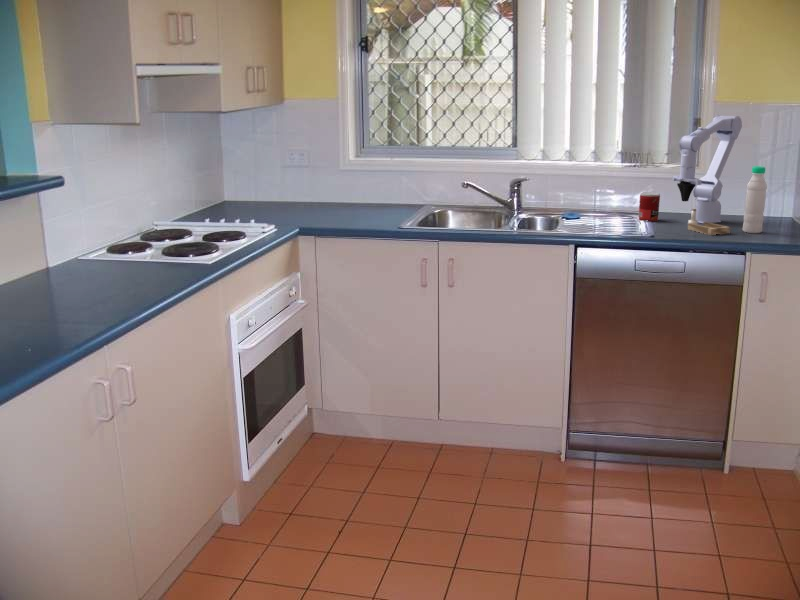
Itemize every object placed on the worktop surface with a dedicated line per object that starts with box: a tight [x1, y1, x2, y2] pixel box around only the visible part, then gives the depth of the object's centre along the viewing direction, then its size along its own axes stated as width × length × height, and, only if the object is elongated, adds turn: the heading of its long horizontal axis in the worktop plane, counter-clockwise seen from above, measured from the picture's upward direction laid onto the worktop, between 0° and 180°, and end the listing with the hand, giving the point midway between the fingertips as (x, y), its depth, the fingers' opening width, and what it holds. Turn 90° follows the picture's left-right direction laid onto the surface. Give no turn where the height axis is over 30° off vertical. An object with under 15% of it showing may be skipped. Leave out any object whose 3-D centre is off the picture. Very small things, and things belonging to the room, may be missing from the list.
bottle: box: [687, 208, 699, 225], centre depth 345 cm, size 4×4×8 cm
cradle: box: [687, 222, 731, 236], centre depth 338 cm, size 9×13×2 cm
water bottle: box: [742, 166, 768, 234], centre depth 334 cm, size 7×7×25 cm
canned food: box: [638, 191, 661, 222], centre depth 362 cm, size 8×8×11 cm
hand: (685, 201), depth 348 cm, fingers closed
